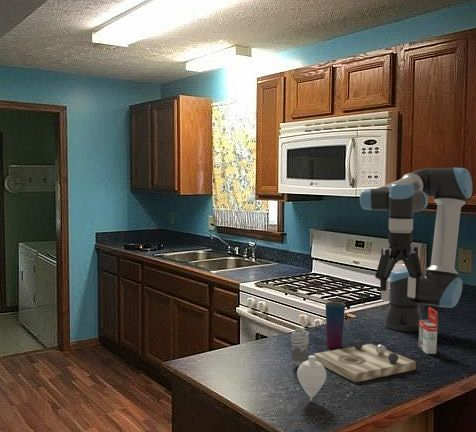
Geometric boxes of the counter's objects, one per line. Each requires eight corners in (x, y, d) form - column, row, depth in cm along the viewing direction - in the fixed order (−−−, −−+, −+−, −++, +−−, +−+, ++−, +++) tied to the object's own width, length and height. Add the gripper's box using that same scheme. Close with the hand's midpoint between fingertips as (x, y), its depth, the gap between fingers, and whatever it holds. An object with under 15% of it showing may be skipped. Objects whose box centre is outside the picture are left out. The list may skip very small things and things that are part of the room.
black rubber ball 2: (393, 360, 166) (393, 350, 166) (400, 363, 164) (400, 353, 163) (385, 361, 165) (386, 352, 165) (392, 364, 162) (393, 355, 162)
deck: (371, 350, 183) (371, 343, 183) (415, 369, 165) (415, 361, 165) (313, 361, 172) (314, 353, 172) (354, 382, 154) (355, 373, 154)
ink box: (426, 354, 180) (427, 311, 179) (417, 346, 188) (418, 306, 187) (436, 354, 180) (438, 311, 180) (427, 346, 188) (429, 306, 187)
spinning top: (293, 403, 139) (294, 358, 138) (300, 393, 146) (301, 350, 145) (322, 408, 136) (323, 362, 135) (328, 397, 143) (329, 353, 142)
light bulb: (287, 364, 168) (287, 327, 167) (302, 362, 170) (303, 325, 170) (296, 370, 163) (296, 332, 162) (311, 368, 165) (312, 330, 165)
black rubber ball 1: (358, 347, 179) (358, 338, 179) (364, 349, 176) (364, 340, 176) (351, 348, 178) (351, 339, 177) (357, 350, 175) (357, 342, 175)
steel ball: (381, 352, 174) (381, 342, 174) (388, 355, 171) (388, 345, 171) (373, 353, 172) (373, 343, 172) (380, 356, 170) (380, 346, 169)
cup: (344, 349, 184) (345, 306, 183) (324, 348, 185) (325, 305, 184) (344, 343, 191) (345, 302, 190) (324, 342, 192) (325, 301, 191)
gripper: (417, 229, 181) (415, 293, 183) (364, 231, 170) (362, 299, 172) (435, 231, 174) (432, 297, 176) (381, 234, 164) (379, 304, 165)
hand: (398, 298), depth 174 cm, fingers open, 11 cm apart
